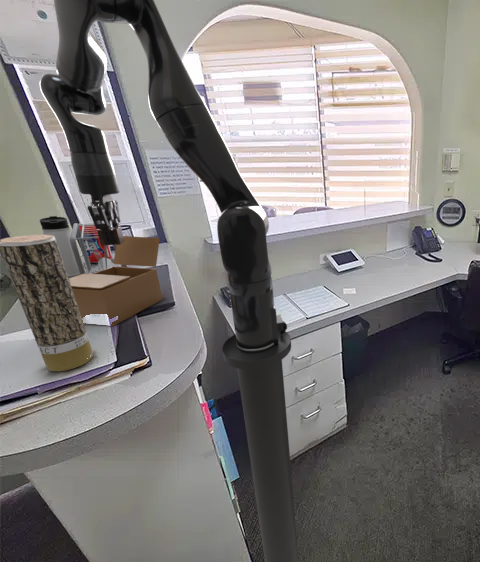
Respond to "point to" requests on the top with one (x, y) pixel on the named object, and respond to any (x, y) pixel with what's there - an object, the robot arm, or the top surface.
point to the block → (117, 234)
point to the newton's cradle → (102, 263)
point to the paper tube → (47, 300)
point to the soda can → (97, 242)
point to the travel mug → (61, 241)
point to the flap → (137, 251)
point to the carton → (116, 292)
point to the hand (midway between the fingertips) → (113, 242)
